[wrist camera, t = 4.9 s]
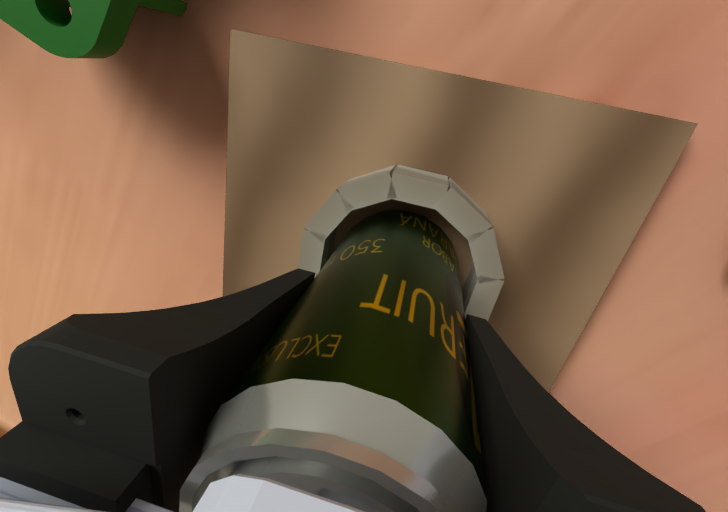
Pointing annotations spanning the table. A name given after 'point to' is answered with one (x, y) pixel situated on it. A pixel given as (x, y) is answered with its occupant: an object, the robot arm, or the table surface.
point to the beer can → (362, 383)
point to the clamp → (79, 23)
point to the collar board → (440, 180)
